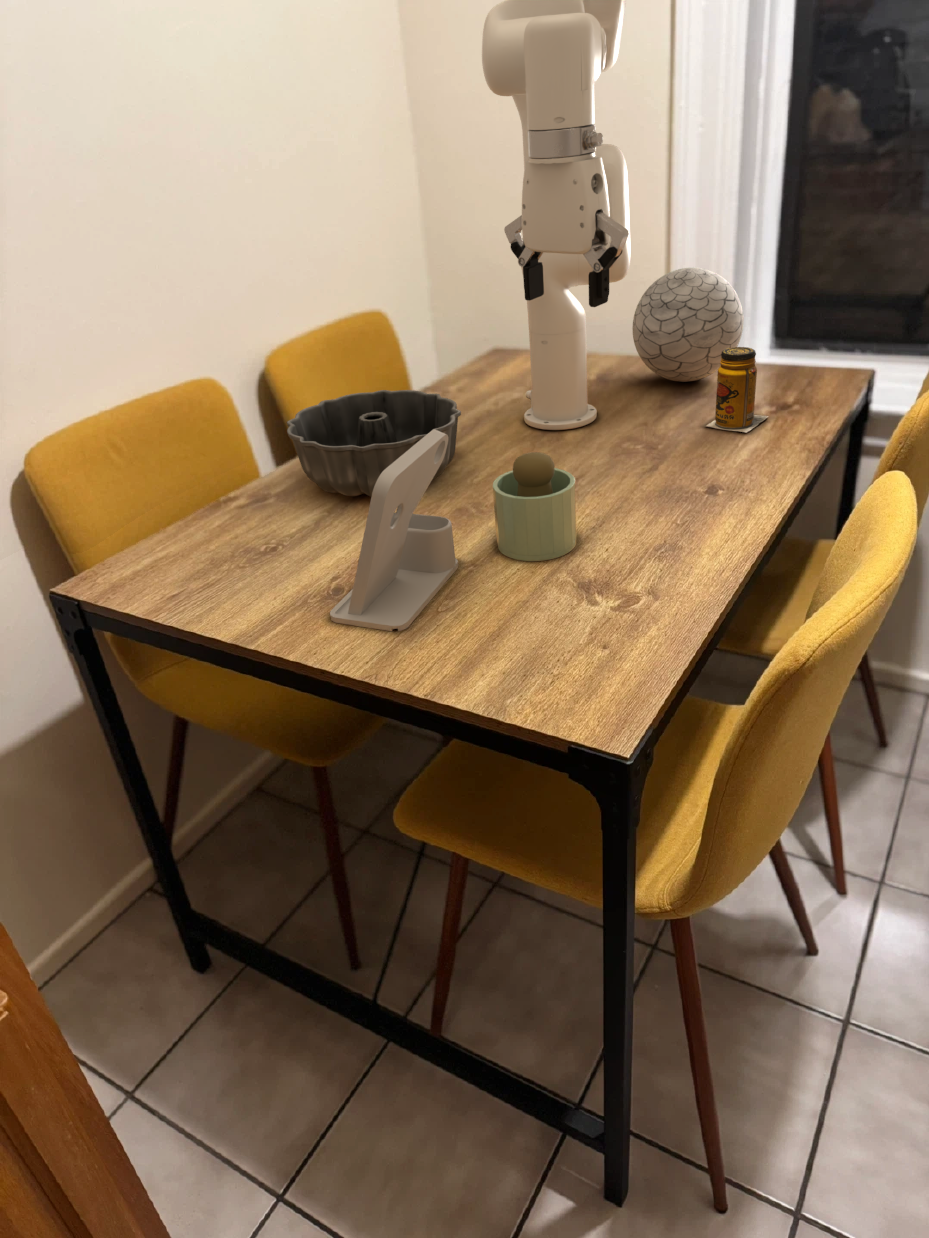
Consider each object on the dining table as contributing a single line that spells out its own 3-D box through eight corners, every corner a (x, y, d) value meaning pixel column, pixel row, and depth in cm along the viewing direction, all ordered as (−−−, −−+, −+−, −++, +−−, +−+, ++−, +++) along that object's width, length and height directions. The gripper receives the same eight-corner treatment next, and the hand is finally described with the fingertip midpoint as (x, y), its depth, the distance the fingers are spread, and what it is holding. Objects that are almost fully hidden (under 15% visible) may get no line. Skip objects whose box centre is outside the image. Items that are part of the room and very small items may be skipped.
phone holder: (393, 553, 116) (374, 420, 107) (464, 562, 112) (451, 424, 103) (326, 621, 103) (297, 475, 93) (404, 633, 99) (383, 482, 90)
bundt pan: (492, 453, 145) (487, 392, 139) (417, 520, 125) (409, 452, 119) (353, 441, 155) (344, 385, 150) (264, 502, 135) (250, 439, 130)
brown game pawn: (556, 547, 112) (553, 465, 106) (509, 545, 113) (504, 464, 108) (563, 526, 117) (561, 447, 111) (518, 525, 118) (513, 446, 113)
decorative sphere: (673, 359, 181) (676, 255, 171) (760, 374, 168) (769, 261, 157) (610, 385, 170) (610, 275, 160) (698, 402, 157) (704, 283, 147)
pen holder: (483, 540, 117) (477, 480, 113) (547, 519, 121) (544, 460, 117) (524, 569, 109) (521, 505, 105) (592, 545, 113) (591, 483, 109)
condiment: (704, 427, 146) (708, 353, 140) (728, 412, 151) (732, 340, 145) (746, 434, 142) (752, 358, 136) (769, 418, 147) (775, 344, 141)
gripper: (645, 139, 98) (642, 300, 107) (521, 143, 108) (528, 289, 117) (607, 148, 94) (608, 315, 103) (482, 151, 104) (492, 302, 113)
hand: (565, 301), depth 110 cm, fingers open, 9 cm apart
